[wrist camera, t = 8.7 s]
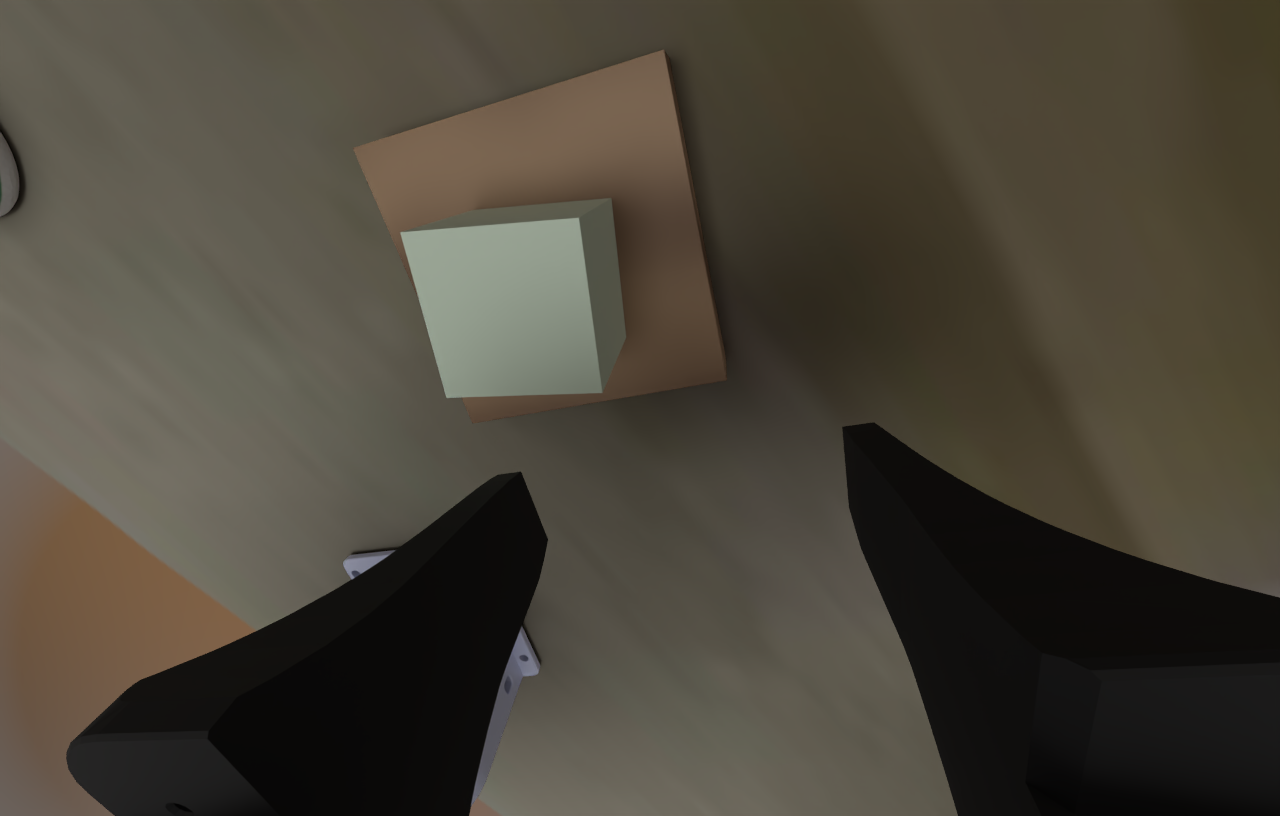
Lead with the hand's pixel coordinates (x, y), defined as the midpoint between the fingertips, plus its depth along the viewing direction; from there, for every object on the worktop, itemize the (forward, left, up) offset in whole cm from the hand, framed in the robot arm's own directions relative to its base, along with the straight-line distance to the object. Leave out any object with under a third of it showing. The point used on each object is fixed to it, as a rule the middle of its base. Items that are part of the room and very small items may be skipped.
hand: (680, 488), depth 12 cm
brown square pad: (+4, +4, -10) cm, 11 cm away
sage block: (+4, +4, -8) cm, 9 cm away
